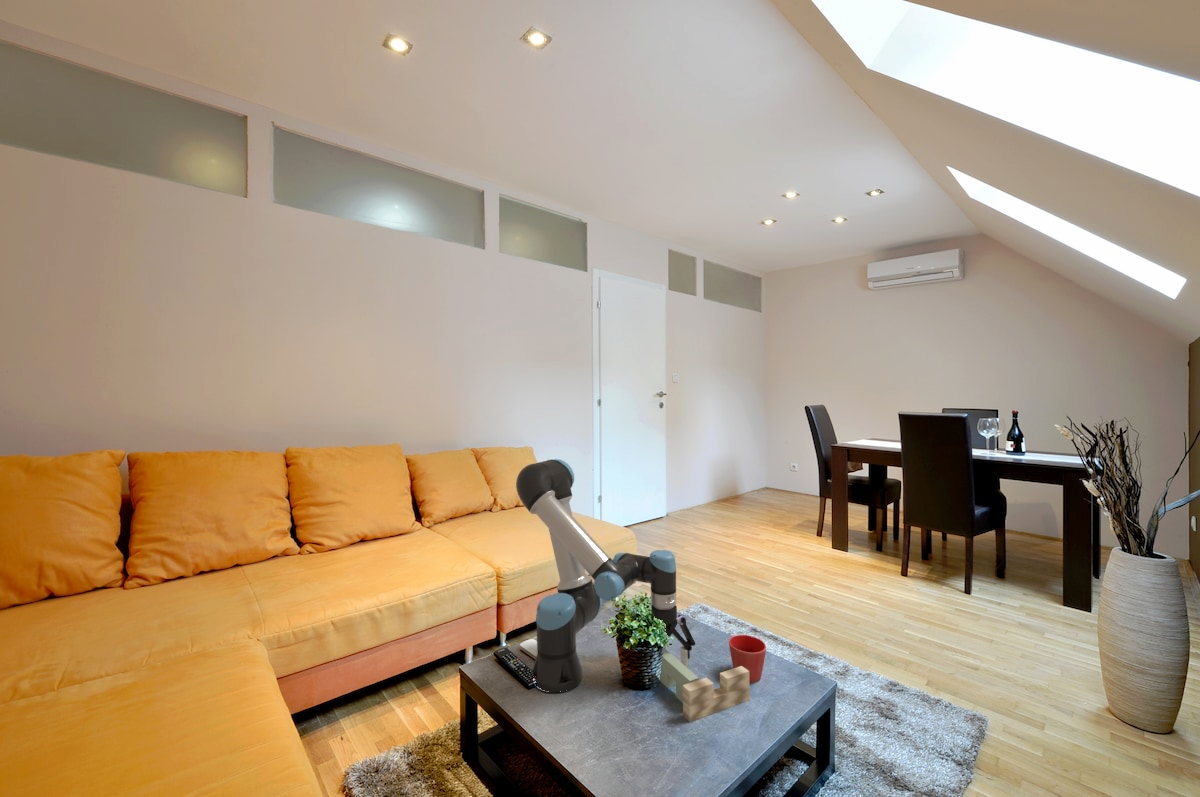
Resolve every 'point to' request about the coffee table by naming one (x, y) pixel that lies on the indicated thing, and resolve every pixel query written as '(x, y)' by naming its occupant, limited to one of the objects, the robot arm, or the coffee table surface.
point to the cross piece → (675, 674)
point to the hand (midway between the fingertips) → (665, 676)
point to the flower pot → (748, 655)
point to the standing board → (715, 694)
